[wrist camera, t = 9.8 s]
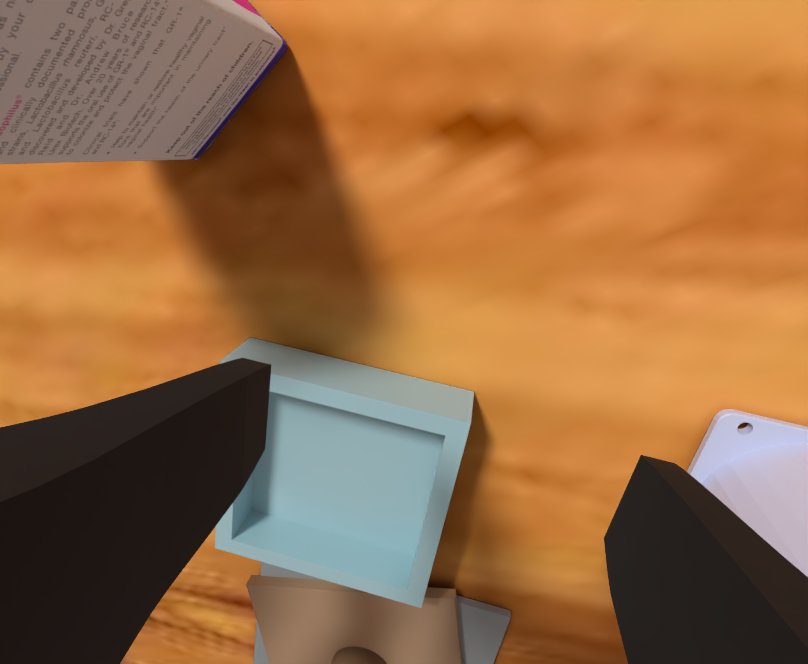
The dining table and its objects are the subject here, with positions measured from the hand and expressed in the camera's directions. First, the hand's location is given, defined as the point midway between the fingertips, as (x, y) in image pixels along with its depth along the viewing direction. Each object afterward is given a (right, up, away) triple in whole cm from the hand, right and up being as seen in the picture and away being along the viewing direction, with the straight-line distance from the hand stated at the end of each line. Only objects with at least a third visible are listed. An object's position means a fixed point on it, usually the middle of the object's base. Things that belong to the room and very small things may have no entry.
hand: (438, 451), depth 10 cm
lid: (-3, -16, +18) cm, 24 cm away
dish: (-3, -4, +13) cm, 14 cm away
